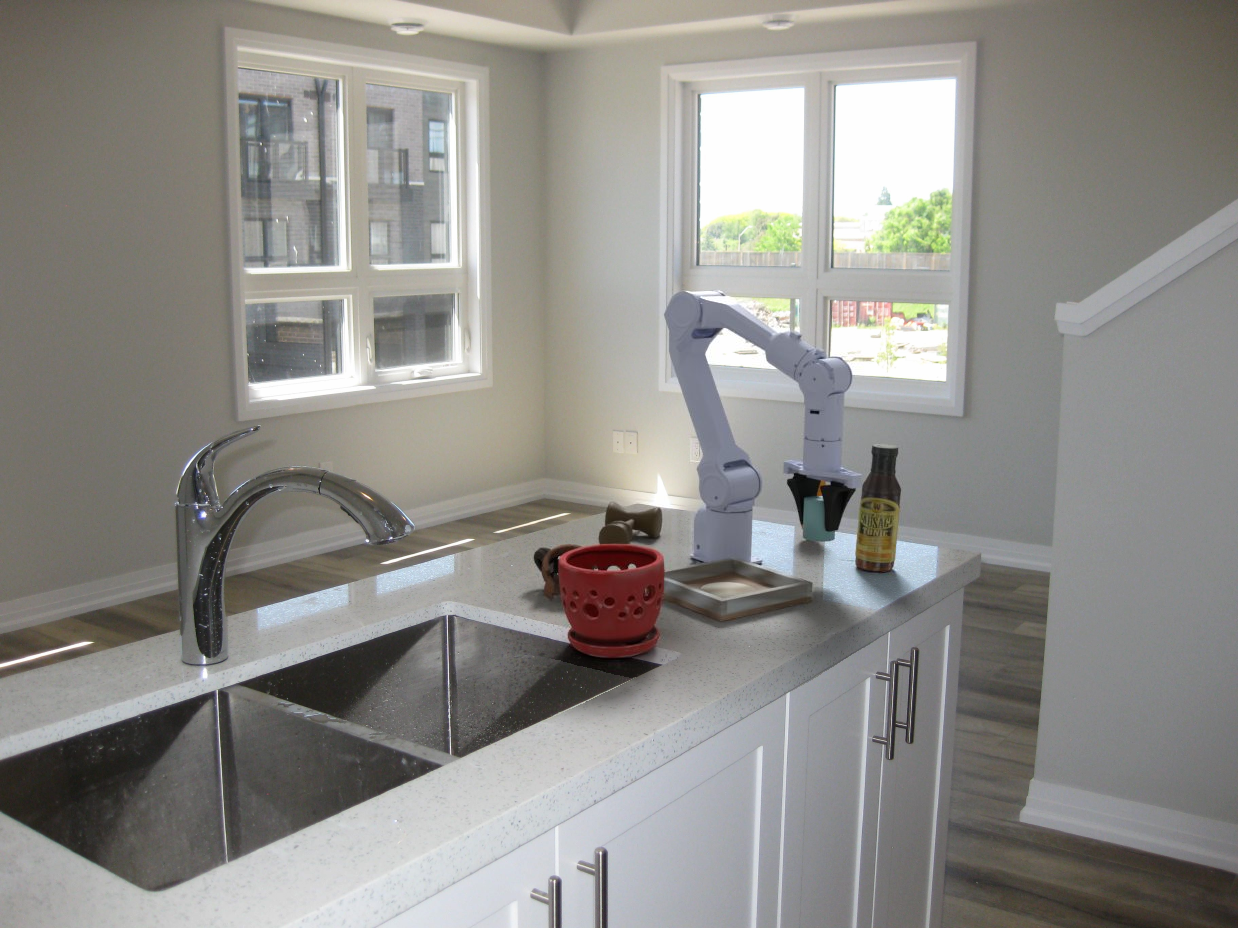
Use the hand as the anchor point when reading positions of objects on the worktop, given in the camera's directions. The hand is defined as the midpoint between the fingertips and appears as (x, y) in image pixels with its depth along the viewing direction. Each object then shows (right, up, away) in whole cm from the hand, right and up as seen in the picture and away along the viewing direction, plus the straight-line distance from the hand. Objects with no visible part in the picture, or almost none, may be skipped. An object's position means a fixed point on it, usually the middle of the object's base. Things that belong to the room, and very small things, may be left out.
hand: (819, 527), depth 175 cm
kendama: (-29, -4, +26) cm, 39 cm away
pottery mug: (-38, -9, -6) cm, 40 cm away
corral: (-14, -10, -7) cm, 19 cm away
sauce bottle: (+11, -7, +9) cm, 16 cm away
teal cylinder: (0, -2, 0) cm, 2 cm away
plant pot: (-31, -14, -30) cm, 46 cm away
